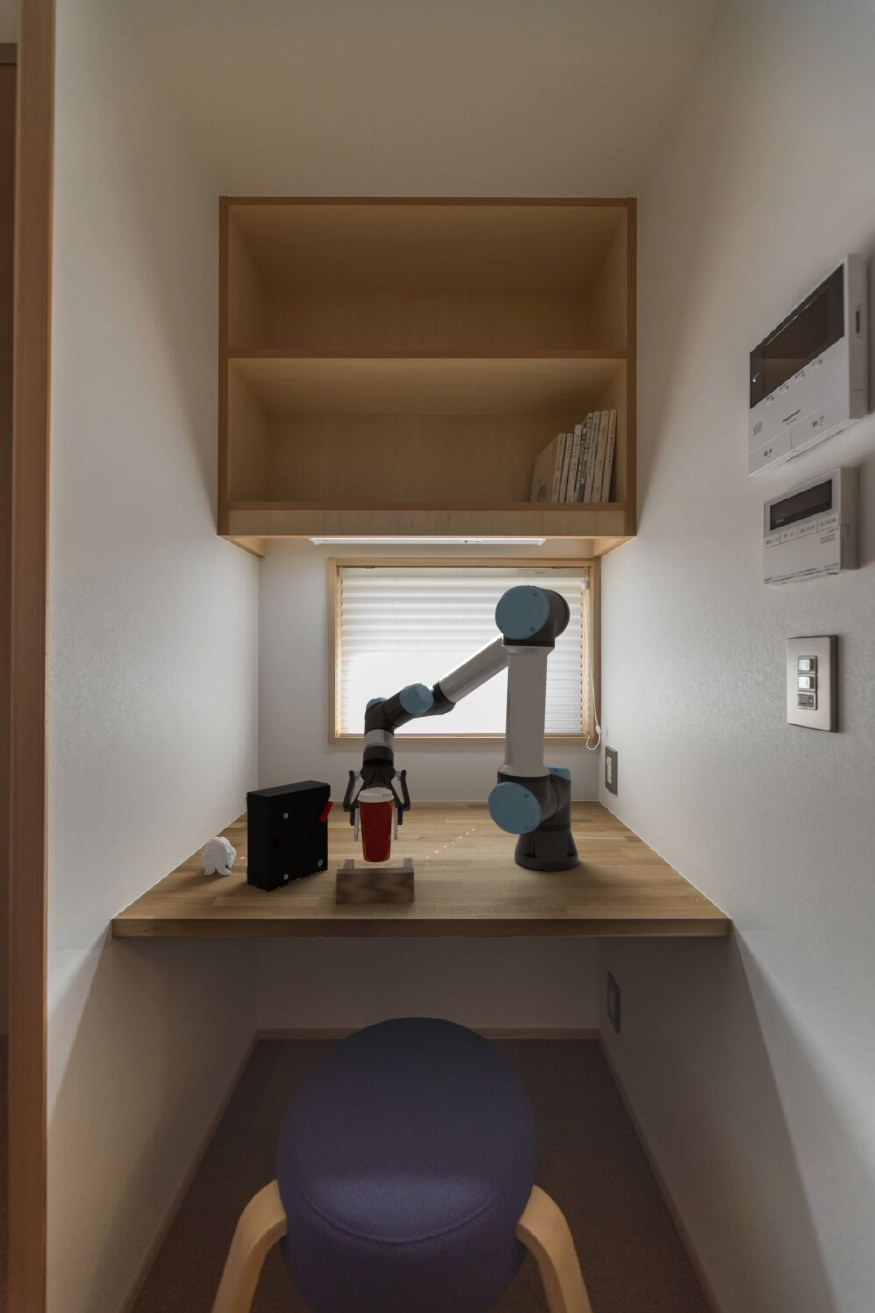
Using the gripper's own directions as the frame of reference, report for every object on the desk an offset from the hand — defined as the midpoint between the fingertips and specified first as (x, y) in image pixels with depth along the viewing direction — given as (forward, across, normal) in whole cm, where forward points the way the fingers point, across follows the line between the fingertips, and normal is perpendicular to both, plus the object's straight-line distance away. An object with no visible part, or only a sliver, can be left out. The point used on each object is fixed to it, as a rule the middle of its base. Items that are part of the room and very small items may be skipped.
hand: (375, 837), depth 144 cm
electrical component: (+4, +20, -10) cm, 22 cm away
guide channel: (+7, 0, -6) cm, 10 cm away
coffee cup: (+2, 0, -6) cm, 7 cm away
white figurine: (+1, +36, -13) cm, 38 cm away
